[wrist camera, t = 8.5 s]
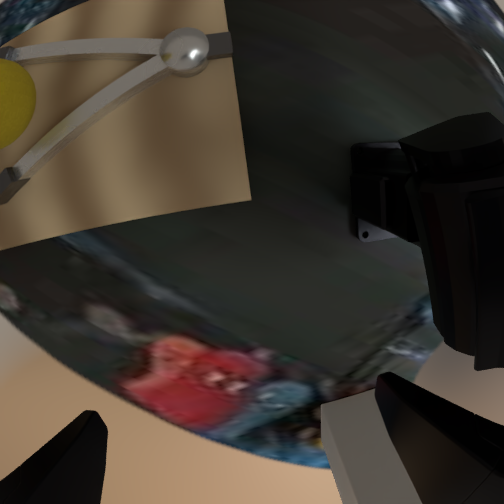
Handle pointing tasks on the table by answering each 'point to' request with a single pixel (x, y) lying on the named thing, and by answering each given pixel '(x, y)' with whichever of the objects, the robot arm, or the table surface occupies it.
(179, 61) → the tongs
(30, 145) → the board
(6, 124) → the lemon
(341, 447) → the milk
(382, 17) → the table surface
